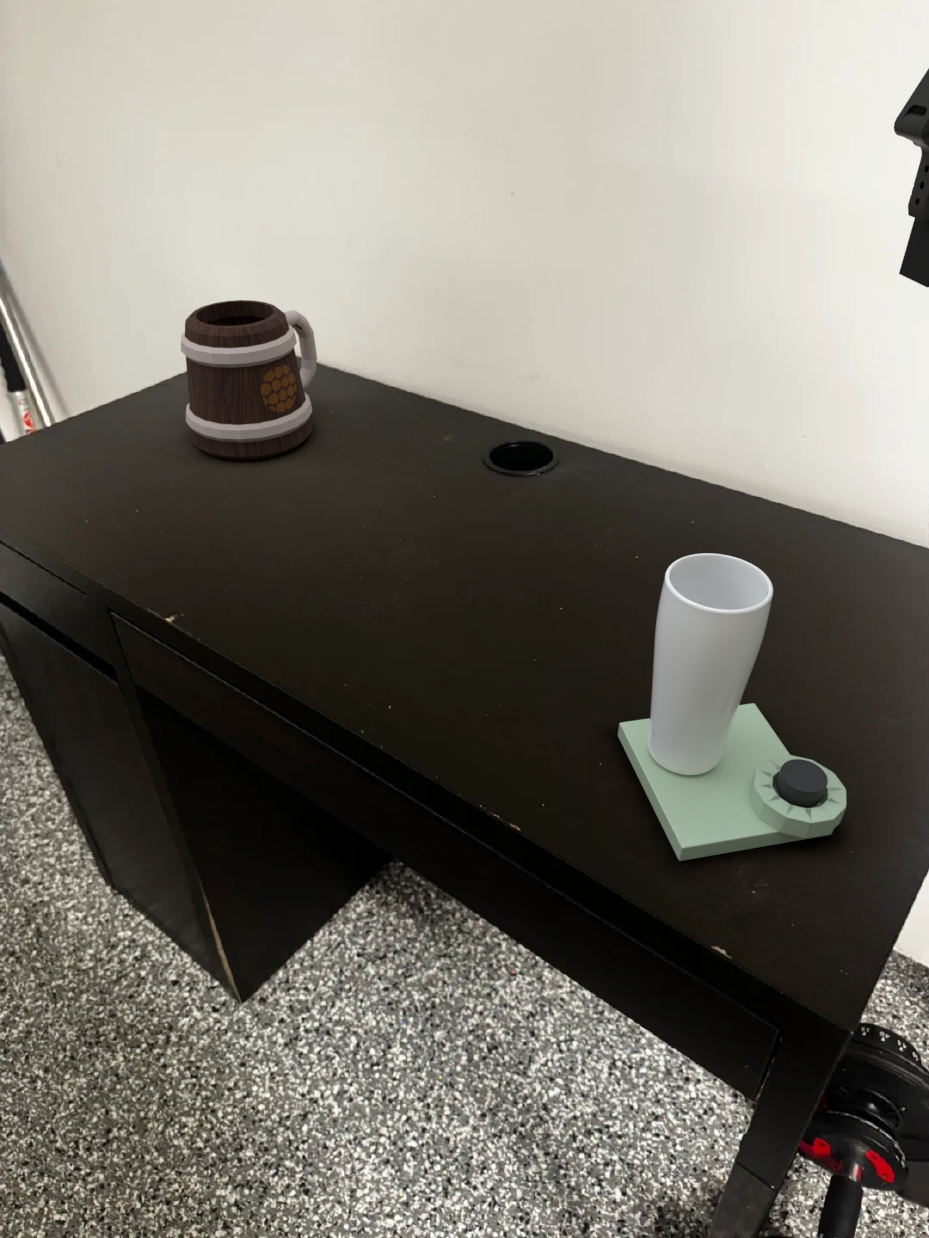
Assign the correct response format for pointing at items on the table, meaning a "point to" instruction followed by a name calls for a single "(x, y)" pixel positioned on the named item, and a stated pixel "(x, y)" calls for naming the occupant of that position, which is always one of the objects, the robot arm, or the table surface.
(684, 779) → the scale
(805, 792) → the button
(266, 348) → the mug
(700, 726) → the drinking glass
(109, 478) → the table surface
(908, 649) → the table surface
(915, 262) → the robot arm
